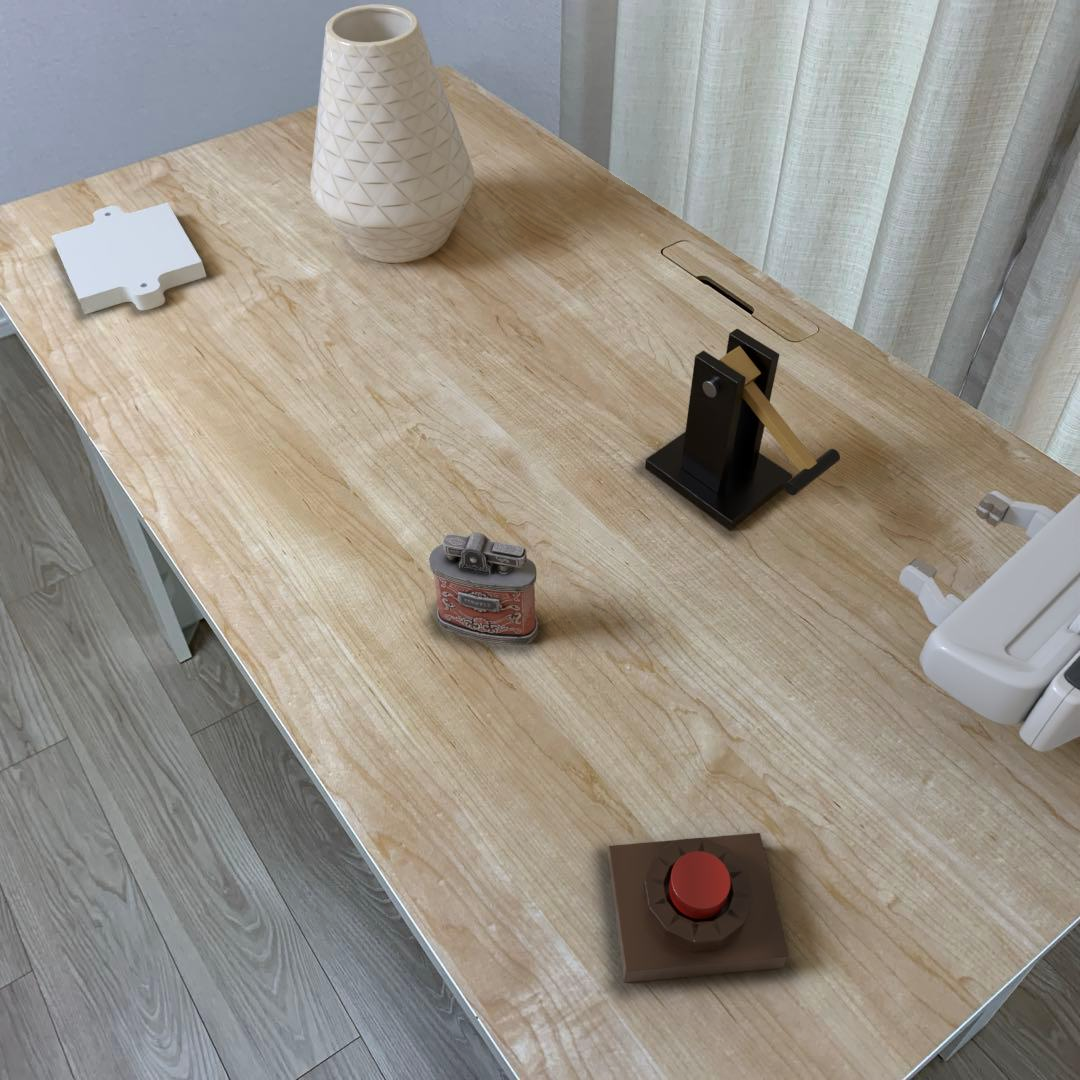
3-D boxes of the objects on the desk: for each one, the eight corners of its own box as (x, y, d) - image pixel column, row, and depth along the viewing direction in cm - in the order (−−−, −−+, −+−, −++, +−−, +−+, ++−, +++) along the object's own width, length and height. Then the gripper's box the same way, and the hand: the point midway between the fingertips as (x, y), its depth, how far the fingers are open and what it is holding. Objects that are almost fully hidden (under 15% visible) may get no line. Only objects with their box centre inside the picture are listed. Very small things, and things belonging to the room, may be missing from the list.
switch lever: (830, 466, 85) (847, 455, 82) (787, 500, 82) (803, 489, 80) (739, 350, 85) (753, 336, 83) (693, 381, 83) (706, 367, 81)
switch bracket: (790, 484, 92) (820, 362, 81) (729, 531, 88) (752, 410, 78) (705, 425, 96) (723, 303, 86) (644, 468, 93) (655, 347, 82)
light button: (720, 860, 66) (724, 848, 65) (732, 916, 64) (736, 905, 62) (664, 864, 66) (666, 853, 65) (673, 921, 64) (676, 911, 62)
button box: (755, 846, 70) (764, 820, 67) (782, 968, 65) (793, 946, 62) (607, 859, 70) (609, 833, 67) (623, 983, 65) (626, 961, 62)
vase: (444, 294, 110) (422, 79, 92) (294, 265, 113) (245, 53, 96) (499, 204, 120) (489, -4, 102) (360, 181, 124) (327, -25, 106)
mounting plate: (52, 239, 117) (45, 224, 116) (166, 206, 121) (161, 191, 119) (90, 327, 107) (84, 312, 105) (213, 289, 111) (209, 274, 109)
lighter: (432, 631, 82) (419, 550, 74) (445, 597, 84) (433, 515, 76) (532, 650, 81) (529, 570, 73) (542, 615, 83) (540, 534, 75)
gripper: (1223, 539, 71) (1040, 433, 77) (1060, 718, 62) (870, 582, 69) (1181, 595, 75) (1012, 491, 82) (1024, 768, 67) (850, 636, 74)
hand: (946, 533), depth 75 cm, fingers open, 8 cm apart
